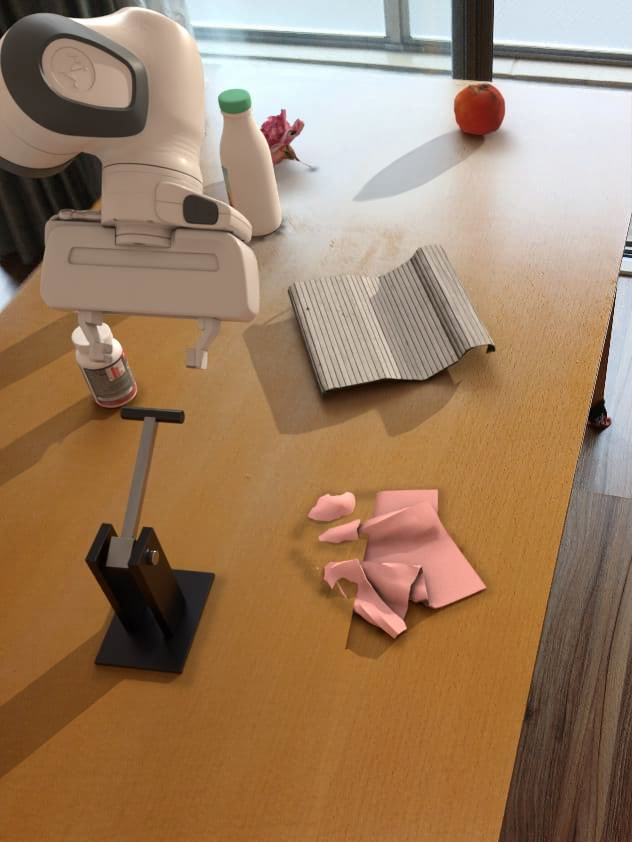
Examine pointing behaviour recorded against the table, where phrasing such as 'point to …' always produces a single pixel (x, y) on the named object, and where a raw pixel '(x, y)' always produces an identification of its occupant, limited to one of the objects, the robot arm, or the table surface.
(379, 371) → the mat
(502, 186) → the table surface
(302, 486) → the table surface
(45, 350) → the table surface
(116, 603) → the bracket
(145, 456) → the lever
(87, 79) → the robot arm
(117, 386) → the pill bottle
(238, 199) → the milk bottle
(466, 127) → the red round fruit
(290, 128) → the flower
